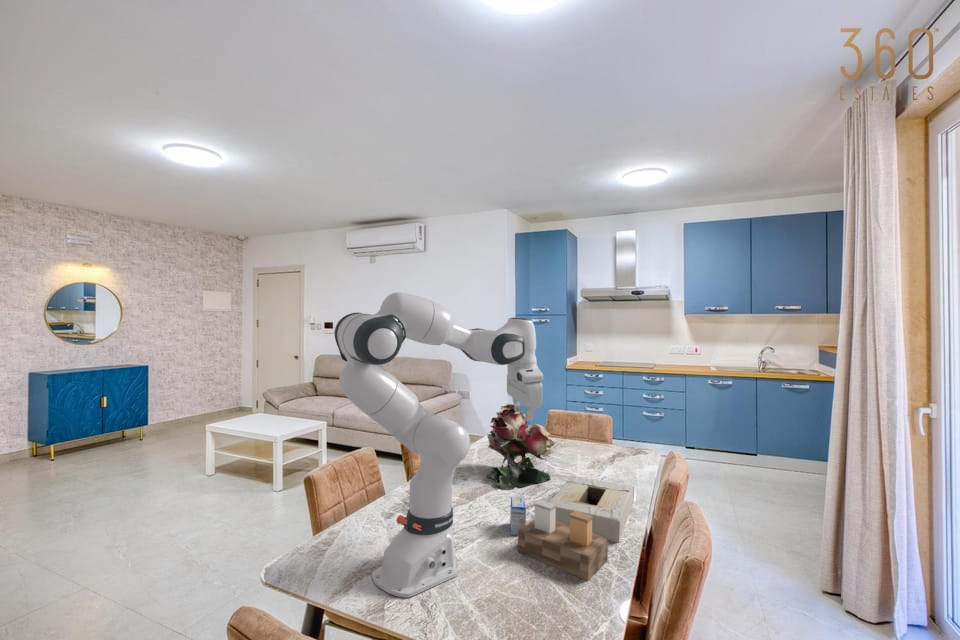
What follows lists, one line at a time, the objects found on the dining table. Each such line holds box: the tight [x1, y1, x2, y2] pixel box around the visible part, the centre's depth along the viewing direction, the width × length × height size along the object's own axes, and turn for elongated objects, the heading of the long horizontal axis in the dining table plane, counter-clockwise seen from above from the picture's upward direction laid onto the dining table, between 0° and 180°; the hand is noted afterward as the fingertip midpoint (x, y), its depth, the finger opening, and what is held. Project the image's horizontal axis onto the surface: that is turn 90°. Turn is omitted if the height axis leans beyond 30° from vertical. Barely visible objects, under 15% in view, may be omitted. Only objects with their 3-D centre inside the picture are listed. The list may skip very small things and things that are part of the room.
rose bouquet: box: [485, 403, 555, 491], centre depth 182 cm, size 26×29×30 cm
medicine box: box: [509, 496, 527, 536], centre depth 134 cm, size 8×4×9 cm, turn 178°
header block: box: [517, 519, 609, 582], centre depth 119 cm, size 12×21×6 cm, turn 51°
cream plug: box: [533, 499, 556, 534], centre depth 123 cm, size 3×5×10 cm, turn 51°
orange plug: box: [569, 511, 593, 547], centre depth 116 cm, size 3×5×10 cm, turn 51°
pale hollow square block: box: [547, 474, 635, 544], centre depth 146 cm, size 23×8×32 cm
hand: (523, 415), depth 132 cm, fingers open, 8 cm apart
